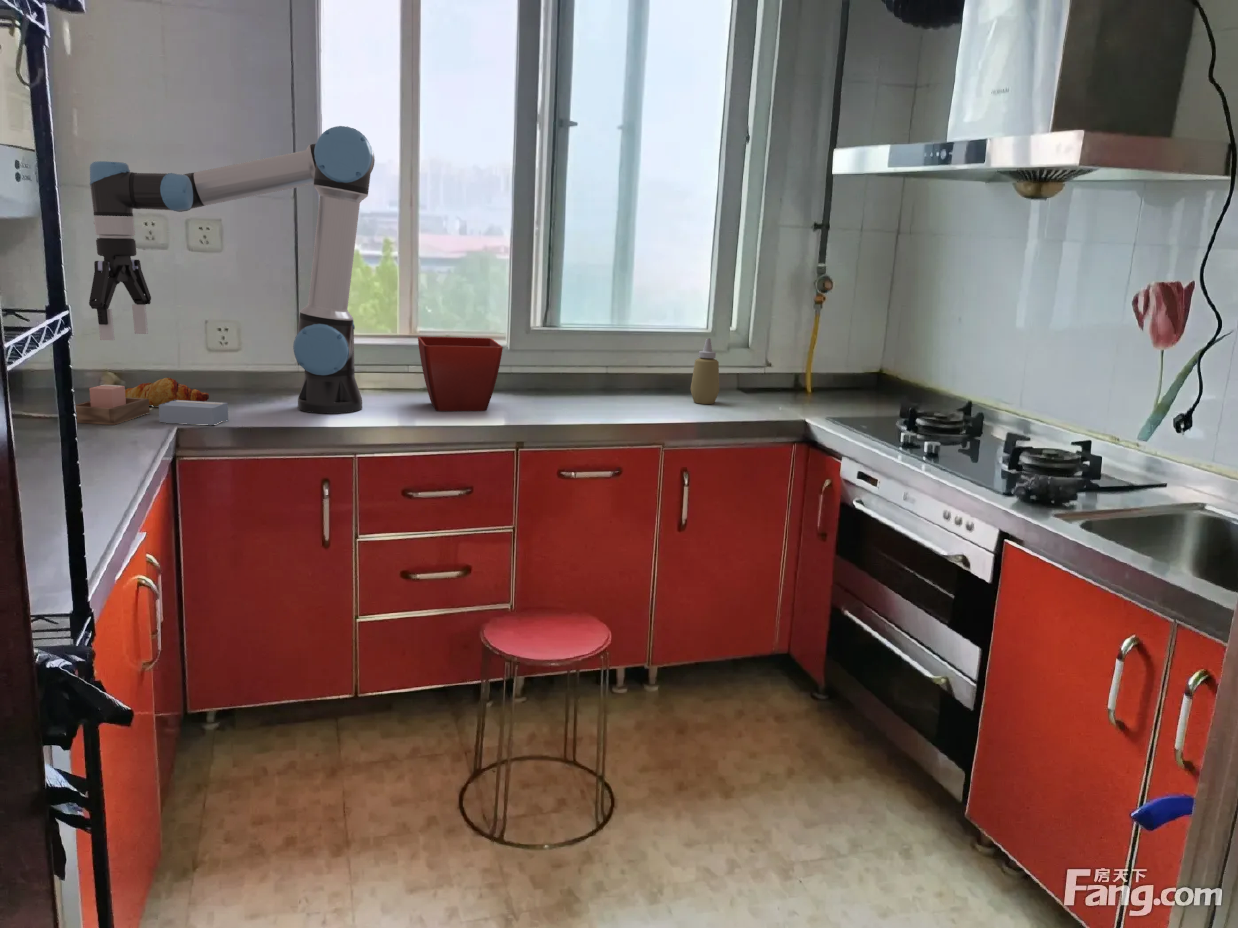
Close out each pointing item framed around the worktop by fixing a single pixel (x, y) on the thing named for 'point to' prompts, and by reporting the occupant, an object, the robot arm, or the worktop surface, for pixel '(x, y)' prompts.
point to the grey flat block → (193, 412)
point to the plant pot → (460, 371)
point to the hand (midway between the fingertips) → (125, 337)
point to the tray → (112, 412)
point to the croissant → (165, 392)
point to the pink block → (107, 396)
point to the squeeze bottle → (705, 376)
